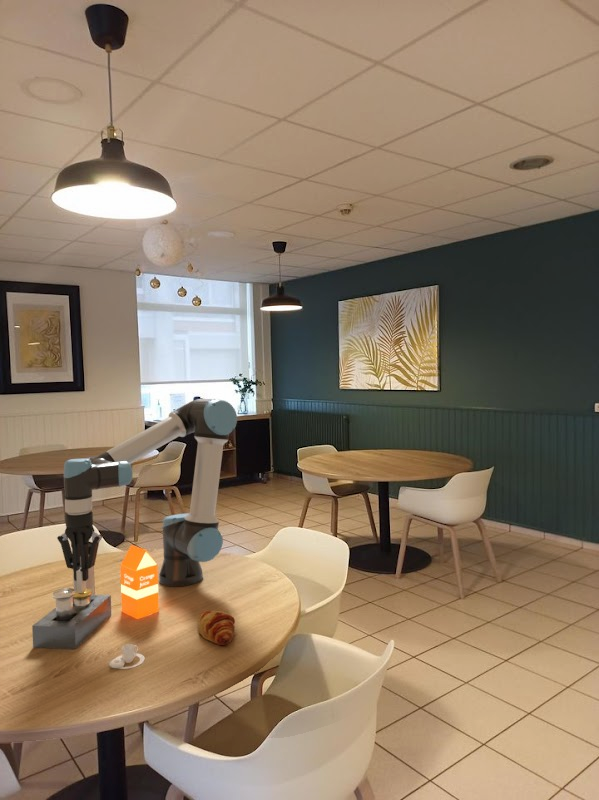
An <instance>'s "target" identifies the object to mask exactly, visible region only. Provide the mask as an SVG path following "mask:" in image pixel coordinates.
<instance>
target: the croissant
mask: <svg viewBox="0 0 599 800" xmlns="http://www.w3.org/2000/svg"><path fill="white" fill-rule="evenodd" d="M235 623H236V619H235V618H234V616H233V615H232V614H231V613H229V612H225V611H219V610H215V609H214V610H210V609H209V610H208V609H207V610H205V611H203V613H202V614H201V615H200V617H199V619H198V627H197V632H198V634H200V635H202V637H203V638H204V639H205V640H207V641H210V642H212V643H214V644H217V645H220V646H225V645H228V644H229V643H230V642H231V641H232V640H233V638H234V633H235Z"/></svg>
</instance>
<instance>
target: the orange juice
mask: <svg viewBox="0 0 599 800" xmlns="http://www.w3.org/2000/svg"><path fill="white" fill-rule="evenodd" d="M119 568H120V593H121V612H122V613H124V614H126V615H128V616H130V617H132V618H134V619H136V620H139V619H141V618H145V617H147V616H151V615H152V614H155V613H158V612H159V610H160V607H159V606H160V605H159V577H158V575H159V574H158V564H157V562H156V561H155V560H154V558H153V557H152V556H151V554H150V553H149V552H148V551H147V549H144V548H141V547H138V546H136V545H132V544H131V545H130V547H129V549H128V550H127V552H126V554H125V556H124V558H123V560H122V561H121V564H120V567H119Z"/></svg>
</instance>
